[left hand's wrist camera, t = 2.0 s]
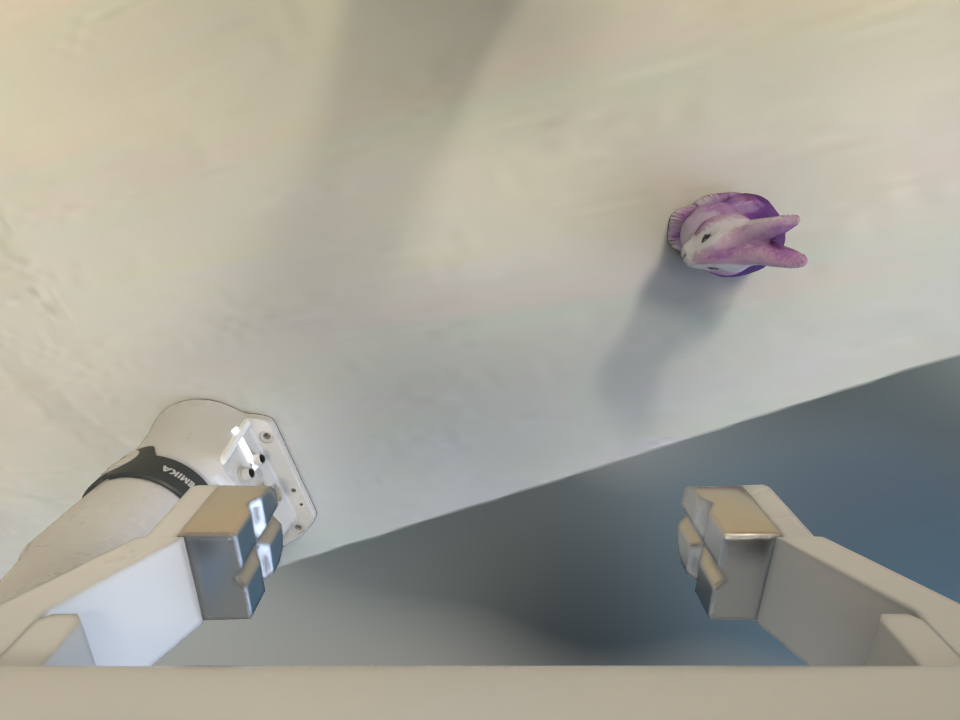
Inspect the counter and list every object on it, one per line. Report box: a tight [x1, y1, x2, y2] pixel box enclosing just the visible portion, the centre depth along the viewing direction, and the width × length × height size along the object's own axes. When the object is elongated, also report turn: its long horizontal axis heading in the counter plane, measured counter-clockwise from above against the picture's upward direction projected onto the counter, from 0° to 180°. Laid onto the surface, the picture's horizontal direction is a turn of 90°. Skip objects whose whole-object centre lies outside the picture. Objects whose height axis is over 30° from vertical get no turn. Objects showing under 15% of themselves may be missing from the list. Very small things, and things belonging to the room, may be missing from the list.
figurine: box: [668, 193, 808, 277], centre depth 48 cm, size 9×10×15 cm
